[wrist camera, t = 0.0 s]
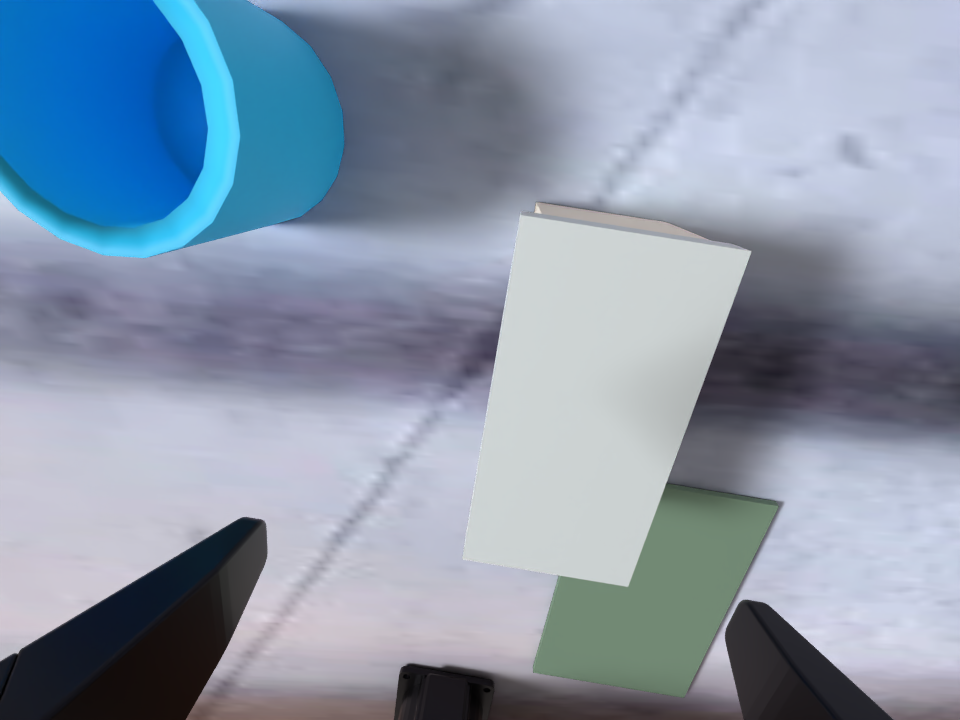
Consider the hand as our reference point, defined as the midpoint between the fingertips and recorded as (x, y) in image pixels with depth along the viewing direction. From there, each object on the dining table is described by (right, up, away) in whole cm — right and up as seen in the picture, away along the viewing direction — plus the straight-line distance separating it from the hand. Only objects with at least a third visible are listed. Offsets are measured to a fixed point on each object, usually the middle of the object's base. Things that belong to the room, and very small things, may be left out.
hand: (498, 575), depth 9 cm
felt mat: (+9, -10, +19) cm, 24 cm away
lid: (+3, +2, +9) cm, 10 cm away
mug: (-12, +15, +11) cm, 22 cm away
